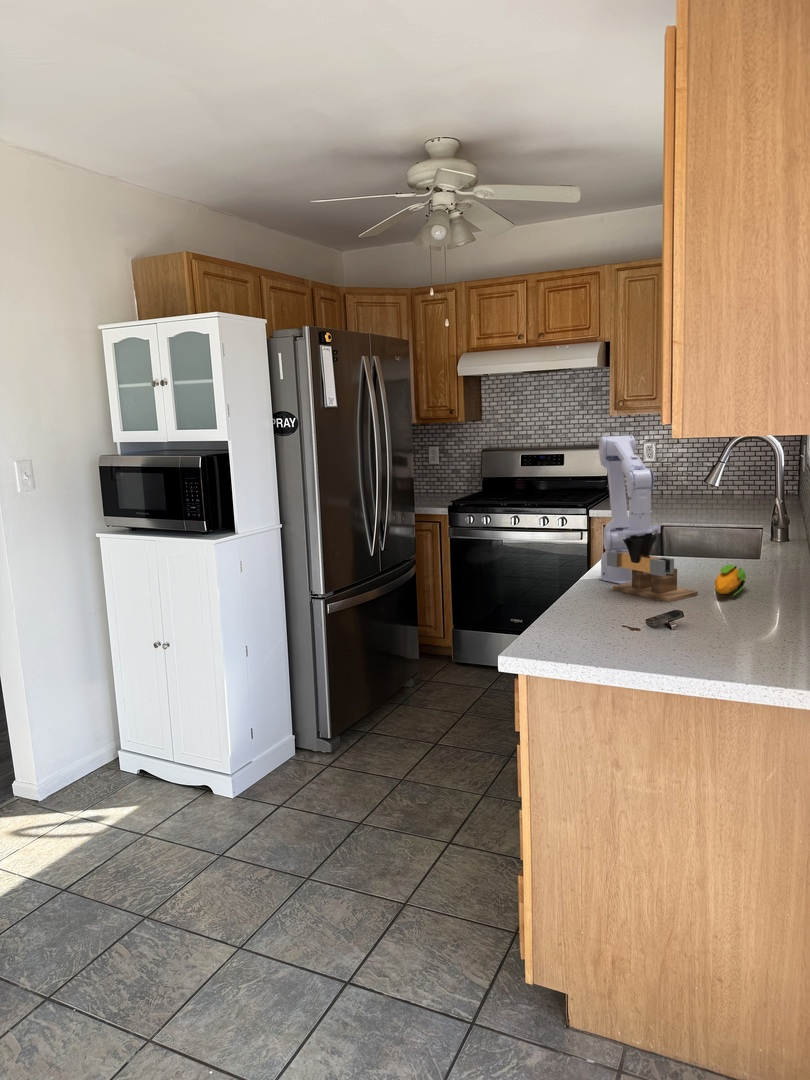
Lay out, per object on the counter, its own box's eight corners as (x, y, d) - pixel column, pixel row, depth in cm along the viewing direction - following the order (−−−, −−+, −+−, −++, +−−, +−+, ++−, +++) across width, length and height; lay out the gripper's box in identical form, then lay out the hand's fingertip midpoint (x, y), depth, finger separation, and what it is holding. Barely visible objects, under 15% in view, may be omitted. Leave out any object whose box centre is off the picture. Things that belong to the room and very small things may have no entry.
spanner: (606, 565, 219) (606, 551, 219) (619, 563, 222) (619, 549, 221) (661, 576, 203) (661, 561, 202) (674, 573, 205) (674, 558, 204)
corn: (748, 560, 216) (736, 574, 200) (749, 587, 217) (737, 603, 201) (720, 560, 220) (706, 574, 204) (722, 586, 221) (707, 602, 205)
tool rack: (612, 589, 222) (612, 565, 221) (641, 583, 228) (641, 560, 227) (668, 602, 205) (668, 576, 204) (697, 595, 211) (698, 570, 210)
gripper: (632, 517, 202) (631, 567, 205) (669, 511, 210) (668, 560, 212) (612, 514, 208) (612, 563, 211) (649, 509, 216) (649, 556, 218)
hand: (639, 561), depth 212 cm, fingers closed on spanner, 3 cm apart
